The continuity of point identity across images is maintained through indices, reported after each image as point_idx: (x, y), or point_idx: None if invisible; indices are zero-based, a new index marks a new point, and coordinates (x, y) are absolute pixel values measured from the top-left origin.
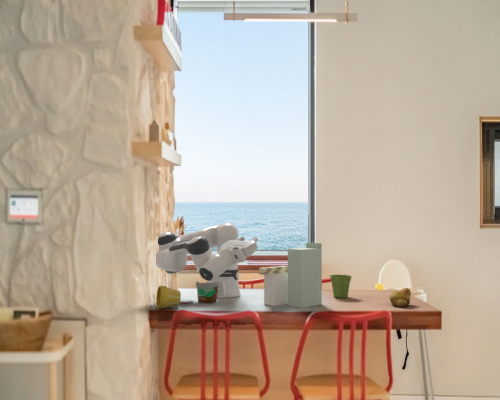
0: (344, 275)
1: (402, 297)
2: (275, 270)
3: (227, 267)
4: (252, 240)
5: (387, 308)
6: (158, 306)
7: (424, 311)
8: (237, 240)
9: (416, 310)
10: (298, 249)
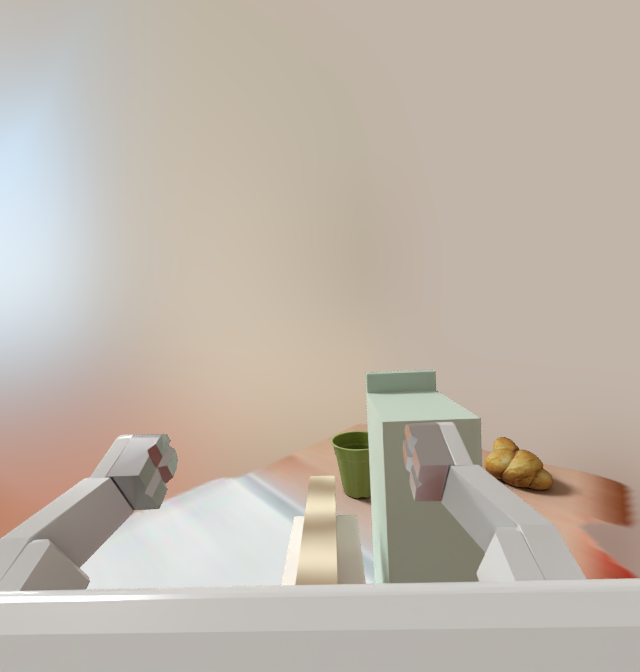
0: (348, 433)
1: (542, 466)
2: (337, 562)
3: None
4: (509, 512)
5: (556, 510)
6: None
7: (610, 490)
8: (56, 533)
9: (594, 492)
10: (453, 417)
